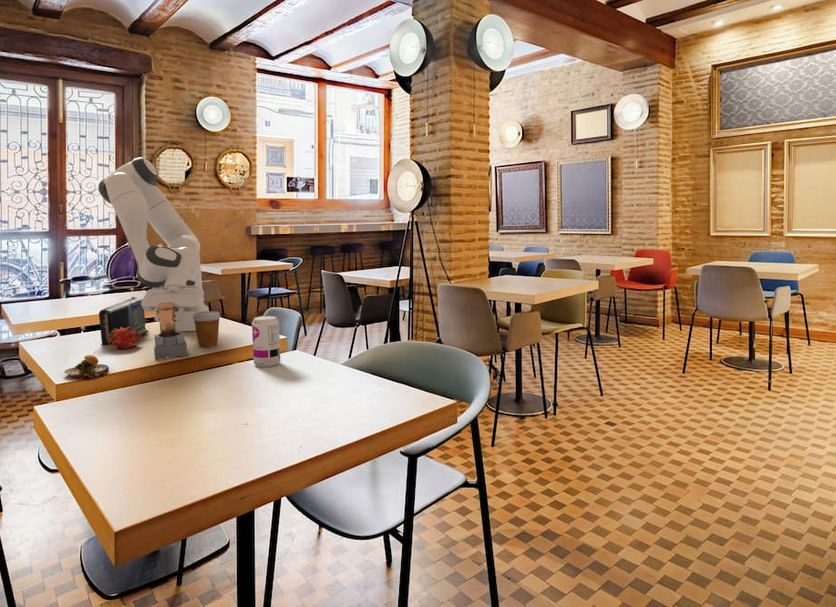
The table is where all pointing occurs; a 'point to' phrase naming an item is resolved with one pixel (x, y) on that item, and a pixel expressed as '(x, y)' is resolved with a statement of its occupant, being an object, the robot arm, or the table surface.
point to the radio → (122, 318)
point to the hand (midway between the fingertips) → (166, 320)
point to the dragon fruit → (123, 338)
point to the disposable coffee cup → (207, 328)
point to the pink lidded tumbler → (167, 319)
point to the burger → (88, 368)
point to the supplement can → (266, 341)
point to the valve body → (170, 346)
